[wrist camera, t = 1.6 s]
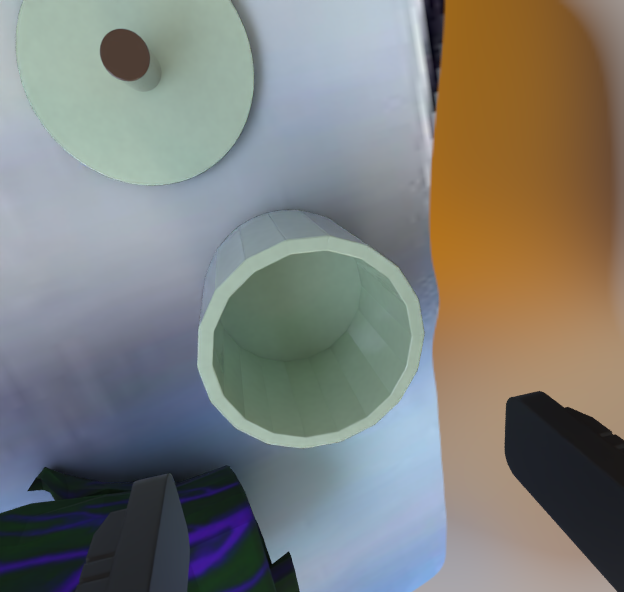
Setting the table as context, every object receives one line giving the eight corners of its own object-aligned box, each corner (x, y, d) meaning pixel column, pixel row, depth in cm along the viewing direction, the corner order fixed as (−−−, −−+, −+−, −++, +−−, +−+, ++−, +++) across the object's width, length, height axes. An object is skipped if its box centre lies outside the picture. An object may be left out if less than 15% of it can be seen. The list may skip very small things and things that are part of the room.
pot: (167, 298, 33) (144, 362, 23) (290, 171, 32) (320, 182, 22) (288, 395, 37) (312, 484, 27) (399, 287, 36) (466, 339, 26)
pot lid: (-29, 65, 26) (-94, 43, 21) (126, -117, 25) (99, -191, 20) (157, 226, 31) (144, 243, 26) (295, 79, 30) (312, 65, 24)
